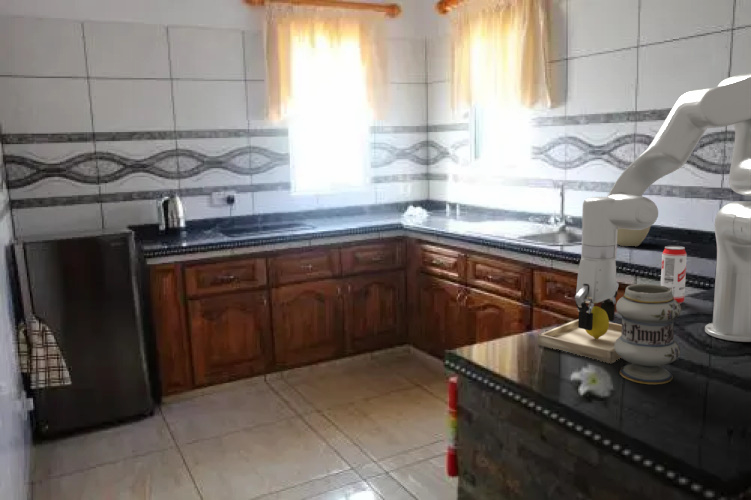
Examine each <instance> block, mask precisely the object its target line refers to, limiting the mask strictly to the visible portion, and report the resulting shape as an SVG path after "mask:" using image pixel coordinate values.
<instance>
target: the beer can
mask: <svg viewBox="0 0 751 500" xmlns="http://www.w3.org/2000/svg"><path fill="white" fill-rule="evenodd" d="M685 249H686V248H685V246H680V245H667V246H664V250H663V251H662V253H661V271H660V272H661V273H660V274H661V275H660V285H661V286H665V287H669V288H671V289H672V295H673V298H674V299H675V300H676V301H677V302H678V303H679V304H680V305H681V304H682V303H684V301H685V297H686V296H685V293H686V292H685V291H686V290H685V289H686V275H687V260H688V259H687V255H688V254H687V252H686V250H685Z"/></svg>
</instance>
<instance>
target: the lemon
mask: <svg viewBox="0 0 751 500" xmlns="http://www.w3.org/2000/svg"><path fill="white" fill-rule="evenodd" d="M591 313H593V326H592V330H586V329H585V330H586V332H587V333H588V334H589V335H591V336H593V337H594V338H595V339H598V338H599V337H601V336H603V335H604V334H605V333H606V332H607V330H608V328H609V322H610V321H609V318H608V315H607V313H606V311H605V310H604V309H602V308H601V306H598V305H594V306H593V308H592V311H591Z"/></svg>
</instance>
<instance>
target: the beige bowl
mask: <svg viewBox="0 0 751 500" xmlns="http://www.w3.org/2000/svg"><path fill="white" fill-rule="evenodd" d="M650 229H651V226H650V227H648V228H646V229H642V230H632V229H621V228H619V229H617V246H619V245H620V246H619V247H624V246H635V247H639V246H640V245H641V244H642V242H643V241H644V240H645V239H646V238H647V236H648V233H649V232H650Z"/></svg>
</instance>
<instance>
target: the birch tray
mask: <svg viewBox="0 0 751 500" xmlns="http://www.w3.org/2000/svg"><path fill="white" fill-rule="evenodd" d="M578 322H579V318H576V319H574V320H572V321H570V322H569V321H568V322H567V323H564V324H562V325H560V326H557V327H554V328H552V329H549V330H547V331H544V332H542V333H539V334H538V335H537V346H541V347H544V348H549V349H552V348H553V350H556V349H559V350H563V351H568V352H571V353H574V354H573V355H575V354H577V355H576V356H579V355H580V356H579V357H582V356H585V357H584V358H586V357H589V358H588V359H590V358H592V359H591V360H594V359H597V360H596V361H598V360H600V361H599V362H602V361H603V363H605V362H606V363H605V364H609V363H610V364H613V363H616V362H617V361H619V360H621V359H622V358H621V357H620V356H619V355H618V354H617V352H616V351H615V347H614V345H615V342H616V340H617V339H618V338H619V337H620V336H621V333H622V323H621V324H620V323H616V322H615V323H614V322H612V321H609V328H608V330H607V332H606V333H605V334H604V335H603V336H601V337H599V338H598V339H595V338H594V337H593V336H591V335H589V334H588V333H587V332H586V330H585V329H581V328H579V327H578ZM559 350H558V351H559ZM563 351H562V352H563ZM571 353H570V354H571ZM620 358H621V359H620ZM618 359H619V360H618ZM616 360H617V361H616Z"/></svg>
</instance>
